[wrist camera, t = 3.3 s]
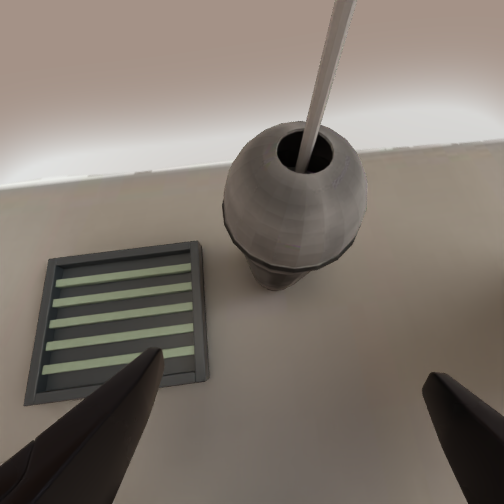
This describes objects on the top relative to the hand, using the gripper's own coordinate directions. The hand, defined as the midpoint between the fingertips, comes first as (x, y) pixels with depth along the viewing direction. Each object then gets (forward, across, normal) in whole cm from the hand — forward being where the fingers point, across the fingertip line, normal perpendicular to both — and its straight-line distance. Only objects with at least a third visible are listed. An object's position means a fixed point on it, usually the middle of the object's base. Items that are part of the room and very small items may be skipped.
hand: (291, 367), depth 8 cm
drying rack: (+11, +13, +8) cm, 19 cm away
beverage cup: (+15, 0, +4) cm, 16 cm away
